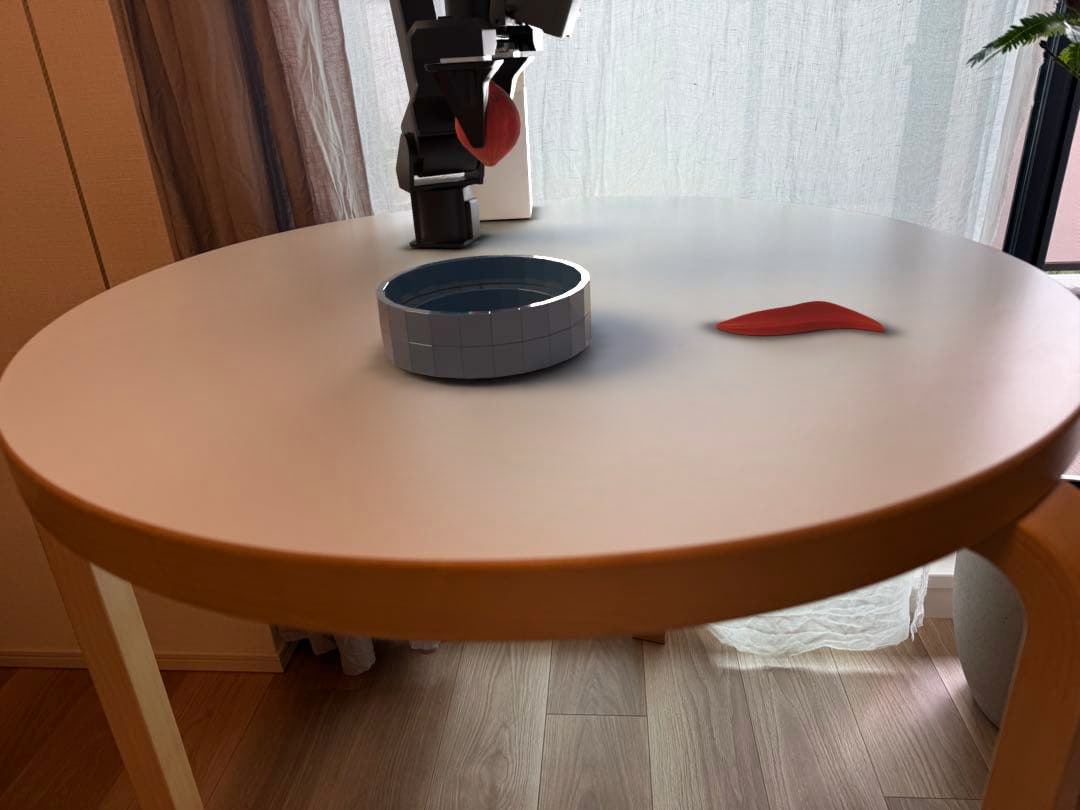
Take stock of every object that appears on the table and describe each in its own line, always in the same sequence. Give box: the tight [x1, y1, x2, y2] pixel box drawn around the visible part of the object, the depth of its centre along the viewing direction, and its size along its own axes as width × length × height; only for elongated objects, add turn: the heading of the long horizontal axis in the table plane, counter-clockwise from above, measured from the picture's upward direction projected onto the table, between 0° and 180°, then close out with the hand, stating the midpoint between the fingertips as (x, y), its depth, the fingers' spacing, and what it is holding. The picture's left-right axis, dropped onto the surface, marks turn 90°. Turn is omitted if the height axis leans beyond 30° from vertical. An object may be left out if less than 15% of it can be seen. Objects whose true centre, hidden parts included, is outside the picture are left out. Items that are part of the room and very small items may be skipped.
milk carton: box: [472, 52, 533, 221], centre depth 102 cm, size 7×7×19 cm
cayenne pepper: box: [715, 300, 886, 336], centre depth 61 cm, size 12×5×2 cm, turn 71°
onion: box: [455, 80, 521, 167], centre depth 73 cm, size 6×6×8 cm
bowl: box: [374, 254, 592, 380], centre depth 60 cm, size 15×15×5 cm
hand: (489, 143), depth 74 cm, fingers closed on onion, 6 cm apart
